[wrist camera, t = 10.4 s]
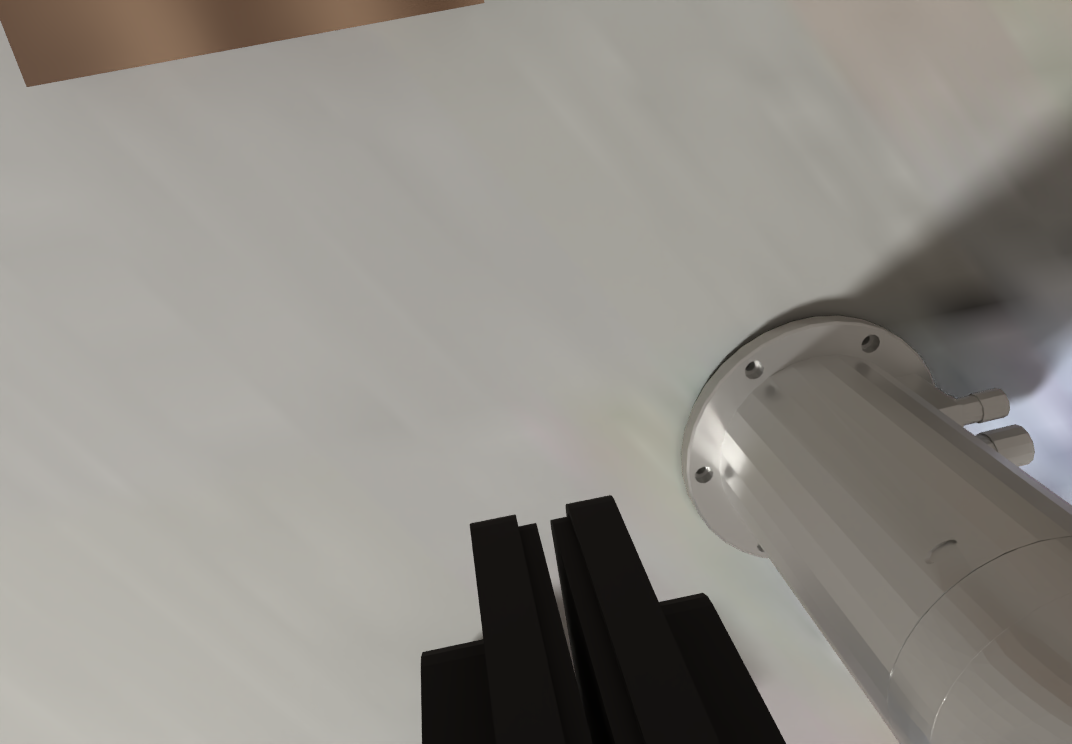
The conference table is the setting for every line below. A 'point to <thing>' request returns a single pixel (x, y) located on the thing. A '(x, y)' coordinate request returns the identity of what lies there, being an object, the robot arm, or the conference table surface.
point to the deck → (173, 29)
